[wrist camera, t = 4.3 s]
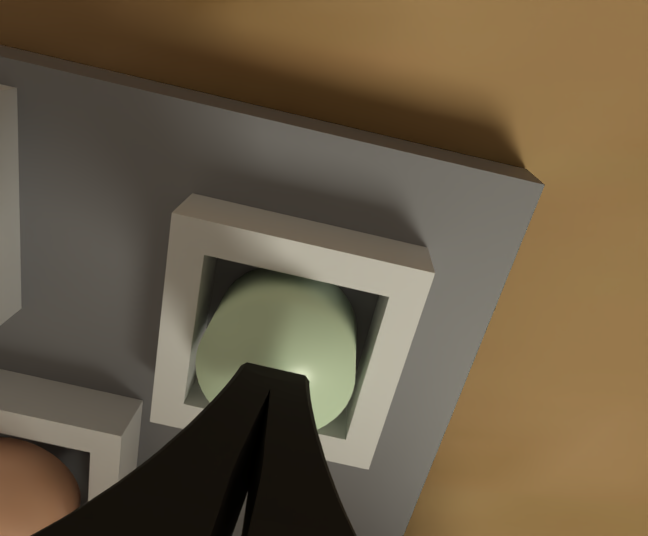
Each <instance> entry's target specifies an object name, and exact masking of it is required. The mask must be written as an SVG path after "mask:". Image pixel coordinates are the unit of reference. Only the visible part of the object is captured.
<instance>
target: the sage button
mask: <svg viewBox="0 0 648 536" xmlns="http://www.w3.org/2000/svg"><path fill="white" fill-rule="evenodd" d="M356 335H357V326H356V318H355V314H354V311H353V308H352V306H351V304H350V302H349V300H348V298H347V297H346V295H345V294H344V293H343V292H342V290H341V289H340V288H339V287H338V286H337V285H334V284H330V283H325V282H321V281H317V280H312V279H308V278H304V277H299V276H295V275H290V274H286V273H282V272H277V271H273V270H269V269H264V268H257V269H254V270H252V271H250V272H248V273H246V274H244V275H243V276H241V277H240V278H239V279H237V280H236V281H235V282H234V283H233V284H232V285H231V286H230V288H229V289H228V290H227V292H226V293H225V295H224V297H223V299H222V300H221V302H220V304H219V306H218V308H217V310H216V312H215V314H214V316H213V318H212V319H211V321H210V323H209V325H208V327H207V329H206V331H205V333H204V335H203V336H202V338H201V341H200V343H199V346H198V349H197V353H196V363H195V365H196V374H197V378H198V382H199V385H200V387H201V390H202V392H203V393H204V395H205V397H206V398H207V400H208V401H209V402H211V401H212V400H213V399H214V398H215V397H216V396H217V395H218V394H219V392H220V391H221V390H222V389H223V388H224V387H225V386H226V384H227V383H228V382H229V381H230V380H231V378H232V377H233V376H234V374H235V373H236V372H237V370H238V369H239V367H240V366H241V365H243V364H245V363H246V362H248V363H253V364H257V365H262V366H266V367H271V368H275V369H279V370H284V371H288V372H293V373H297V374H302V375H306V377H307V378H308V380H309V386H310V397H311V403H312V409H313V414H314V419H315V423H316V427H317V429H320V428H321V427H323V426H325V425H327V424H328V423H330V422H331V421H332V420H334V419H335V418H336V417H337V416H338V415H339V414H340V413H341V412H342V411H343V409H344V408H345V407H346V405H347V404H348V402H349V400H350V398H351V395H352V393H353V390H354V385H355V374H356Z"/></svg>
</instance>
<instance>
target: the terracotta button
mask: <svg viewBox="0 0 648 536" xmlns="http://www.w3.org/2000/svg"><path fill="white" fill-rule="evenodd" d="M80 502H81V494H80V489H79V486H78V484H77V481H76V479H75V478H74V476H73V474H72V473H71V471H70V470H69V469H68V468H67V467H66V466H65V464H64V463H63V462H61V461H60V460H59V459H58V458H57V457H55V456H54V455H53V454H51V453H50V452H48V451H46V450H45V449H43V448H41V447H39V446H37V445H35V444H32V443H29V442H27V441H23V440H19V439H15V438H8V437H0V536H31V535H32V534H34V533H36V532H38V531H40V530H41V529H43V528H45V527H47V526H49V525H50V524H52V523H54V522H56V521H58V520H59V519H61V518H63V517H64V516H66V515H68V514H69V513H71V512H73V511H74V510H76V509H77V508H79V507H80Z"/></svg>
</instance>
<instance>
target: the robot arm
mask: <svg viewBox="0 0 648 536" xmlns="http://www.w3.org/2000/svg"><path fill="white" fill-rule="evenodd" d="M247 493H248V494H247ZM246 495H247V501H246V508H245V514H244V521H243V528H242V534H241V536H357V535H356V533H355V531H354V529H353V527H352V525H351V523H350V520H349V518H348V516H347V514H346V511H345V509H344V507H343V504H342V502H341V500H340V497H339V495H338V492H337V490H336V487H335V484H334V481H333V479H332V476H331V473H330V471H329V468H328V465H327V462H326V459H325V455H324V452H323V448H322V445H321V442H320V438H319V435H318V431H317V427H316V423H315V419H314V414H313V409H312V403H311V397H310V386H309V380H308V378H307V377H306V375H302V374H297V373H293V372H288V371H284V370H279V369H275V368H271V367H266V366H262V365H257V364H253V363H248V362H246V363H245V364H243V365H241V366H240V367H239V369H238V370H237V372H236V373H235V374H234V376H233V377H232V378H231V380H230V381H229V382H228V383H227V384H226V386H225V387H224V388H223V389H222V390H221V391H220V392H219V394H218V395H217V396H216V397H215V398H214V399H213V400H212V401H211V402H210V403H209V404H208V405H207V406H206V407H205V408H204V409H203V410H202V411H201V412H200V413H199V414H198V415H197V416H196V417H195V418H194V419H193V420H192V421H191V422H190V423H189V424H188V425H187V426H186V427H185V428H184V429H183V430H181V431H180V432H179V433H178V434H177V435H176V436H175V437H173V438H172V439H171V440H170V441H169V442H168V443H167V444H166V445H164V446H163V447H162V448H161V449H160V450H159V451H157V452H156V453H155V454H154V455H152V456H151V457H150V458H149V459H147V460H146V461H145V462H144V463H142V464H141V465H140V466H138V467H137V468H136V469H134V470H133V471H132V472H130V473H129V474H128V475H126V476H125V477H124V478H122V479H121V480H120V481H118V482H117V483H115V484H114V485H112V486H111V487H109V488H108V489H106V490H105V491H103V492H102V493H100V494H99V495H97V496H96V497H94V498H93V499H91V500H90V501H88V502H87V503H85V504H84V505H82V506H81V507H79V508H77V509H76V510H74V511H73V512H71V513H69V514H68V515H66V516H64V517H63V518H61V519H59V520H58V521H56V522H54V523H52V524H50V525H49V526H47V527H45V528H43V529H41V530H40V531H38V532H36V533H34V534H32V535H31V536H232V535H233V532H234V529H235V527H236V524H237V521H238V518H239V515H240V512H241V510H242V507H243V504H244V501H245V498H246Z"/></svg>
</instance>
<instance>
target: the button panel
mask: <svg viewBox="0 0 648 536" xmlns="http://www.w3.org/2000/svg"><path fill="white" fill-rule="evenodd" d="M543 188H544V184H543V183H542V182H541V181H540V180H539V179H537V178H536V177H535V176H534V175H533V174H532V173H530V172H529V171H528V170H527V169H524V168H520V167H515V166H511V165H507V164H503V163H499V162H494V161H490V160H486V159H482V158H477V157H473V156H469V155H465V154H460V153H456V152H452V151H448V150H444V149H439V148H435V147H431V146H427V145H422V144H418V143H414V142H410V141H406V140H401V139H397V138H393V137H389V136H384V135H380V134H376V133H372V132H367V131H363V130H359V129H355V128H351V127H346V126H342V125H338V124H334V123H329V122H325V121H321V120H317V119H312V118H308V117H304V116H300V115H296V114H291V113H287V112H283V111H279V110H274V109H270V108H266V107H262V106H258V105H253V104H249V103H245V102H241V101H236V100H232V99H228V98H224V97H219V96H215V95H211V94H207V93H203V92H198V91H194V90H190V89H186V88H181V87H177V86H173V85H169V84H164V83H160V82H156V81H152V80H148V79H143V78H139V77H135V76H131V75H126V74H122V73H118V72H114V71H109V70H105V69H101V68H97V67H93V66H88V65H84V64H80V63H76V62H71V61H67V60H63V59H59V58H55V57H50V56H46V55H42V54H38V53H33V52H29V51H25V50H21V49H16V48H12V47H8V46H4V45H0V437H8V438H15V439H19V440H23V441H27V442H29V443H32V444H35V445H37V446H39V447H41V448H43V449H45V450H46V451H48V452H50V453H51V454H53V455H54V456H55V457H57V458H58V459H59V460H60V461H61V462H63V463H64V464H65V466H66V467H67V468H68V469H69V470H70V471H71V473H72V474H73V476H74V478H75V479H76V481H77V484H78V486H79V489H80V494H81V502H80V507H81V506H82V505H84V504H85V503H87V502H88V501H90V500H91V499H93V498H94V497H96V496H97V495H99V494H100V493H102V492H103V491H105V490H106V489H108V488H109V487H111V486H112V485H114V484H115V483H117V482H118V481H120V480H121V479H122V478H124V477H125V476H126V475H128V474H129V473H130V472H132V471H133V470H134V469H136V468H137V467H138V466H140V465H141V464H142V463H144V462H145V461H146V460H147V459H149V458H150V457H151V456H152V455H154V454H155V453H156V452H157V451H159V450H160V449H161V448H162V447H163V446H164V445H166V444H167V443H168V442H169V441H170V440H171V439H172V438H173V437H175V436H176V435H177V434H178V433H179V432H180V431H181V430H183V429H184V428H185V427H186V426H187V425H188V424H189V423H190V422H191V421H192V420H193V419H194V418H195V417H196V416H197V415H198V414H199V413H200V412H201V411H202V410H203V409H204V408H205V407H206V406H207V405H208V404H209V403H210V402H209V401H208V400H207V398H206V397H205V395H204V393H203V392H202V390H201V387H200V385H199V382H198V378H197V374H196V365H195V363H196V353H197V349H198V346H199V343H200V341H201V338H202V336H203V335H204V333H205V331H206V329H207V327H208V325H209V323H210V321H211V319H212V318H213V316H214V314H215V312H216V310H217V308H218V306H219V304H220V302H221V300H222V299H223V297H224V295H225V293H226V292H227V290H228V289H229V288H230V286H231V285H232V284H233V283H234V282H235V281H236V280H237V279H239V278H240V277H241V276H243V275H244V274H246V273H248V272H250V271H252V270H254V269H257V268H264V269H269V270H273V271H277V272H282V273H286V274H290V275H295V276H299V277H304V278H308V279H312V280H317V281H321V282H325V283H330V284H334V285H337V286H338V287H339V288H340V289H341V290H342V292H343V293H344V294H345V295H346V297H347V298H348V300H349V302H350V304H351V306H352V308H353V311H354V314H355V318H356V326H357V335H356V374H355V385H354V390H353V393H352V395H351V398H350V400H349V402H348V404H347V405H346V407H345V408H344V409H343V411H342V412H341V413H340V414H339V415H338V416H337V417H336V418H335V419H334V420H332V421H331V422H330V423H328V424H327V425H325V426H323V427H321V428H320V429H317V431H318V435H319V438H320V442H321V445H322V448H323V452H324V455H325V459H326V462H327V465H328V468H329V471H330V473H331V476H332V479H333V481H334V484H335V487H336V490H337V492H338V495H339V497H340V500H341V502H342V504H343V507H344V509H345V511H346V514H347V516H348V518H349V520H350V523H351V525H352V527H353V529H354V531H355V533H356V535H357V536H403V535H404V533H405V530H406V528H407V525H408V523H409V520H410V518H411V515H412V513H413V510H414V508H415V505H416V503H417V500H418V498H419V495H420V493H421V490H422V488H423V485H424V483H425V480H426V478H427V476H428V473H429V471H430V468H431V466H432V463H433V461H434V458H435V456H436V453H437V451H438V448H439V446H440V443H441V441H442V438H443V436H444V433H445V431H446V428H447V426H448V423H449V421H450V418H451V416H452V414H453V411H454V409H455V406H456V404H457V401H458V399H459V396H460V394H461V391H462V389H463V386H464V384H465V381H466V379H467V376H468V374H469V371H470V369H471V366H472V364H473V361H474V359H475V356H476V354H477V351H478V349H479V347H480V344H481V342H482V339H483V337H484V334H485V332H486V329H487V327H488V324H489V322H490V319H491V317H492V314H493V312H494V309H495V307H496V304H497V302H498V299H499V297H500V294H501V292H502V289H503V287H504V285H505V282H506V280H507V277H508V275H509V272H510V270H511V267H512V265H513V262H514V260H515V257H516V255H517V252H518V250H519V247H520V245H521V242H522V240H523V237H524V235H525V232H526V230H527V227H528V225H529V223H530V220H531V218H532V215H533V213H534V210H535V208H536V205H537V203H538V200H539V198H540V195H541V193H542V190H543ZM247 494H248V493H247ZM246 501H247V495H246V498H245V501H244V504H243V507H242V510H241V512H240V515H239V518H238V521H237V524H236V527H235V529H234V532H233V535H232V536H241V534H242V528H243V521H244V514H245V508H246Z"/></svg>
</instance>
